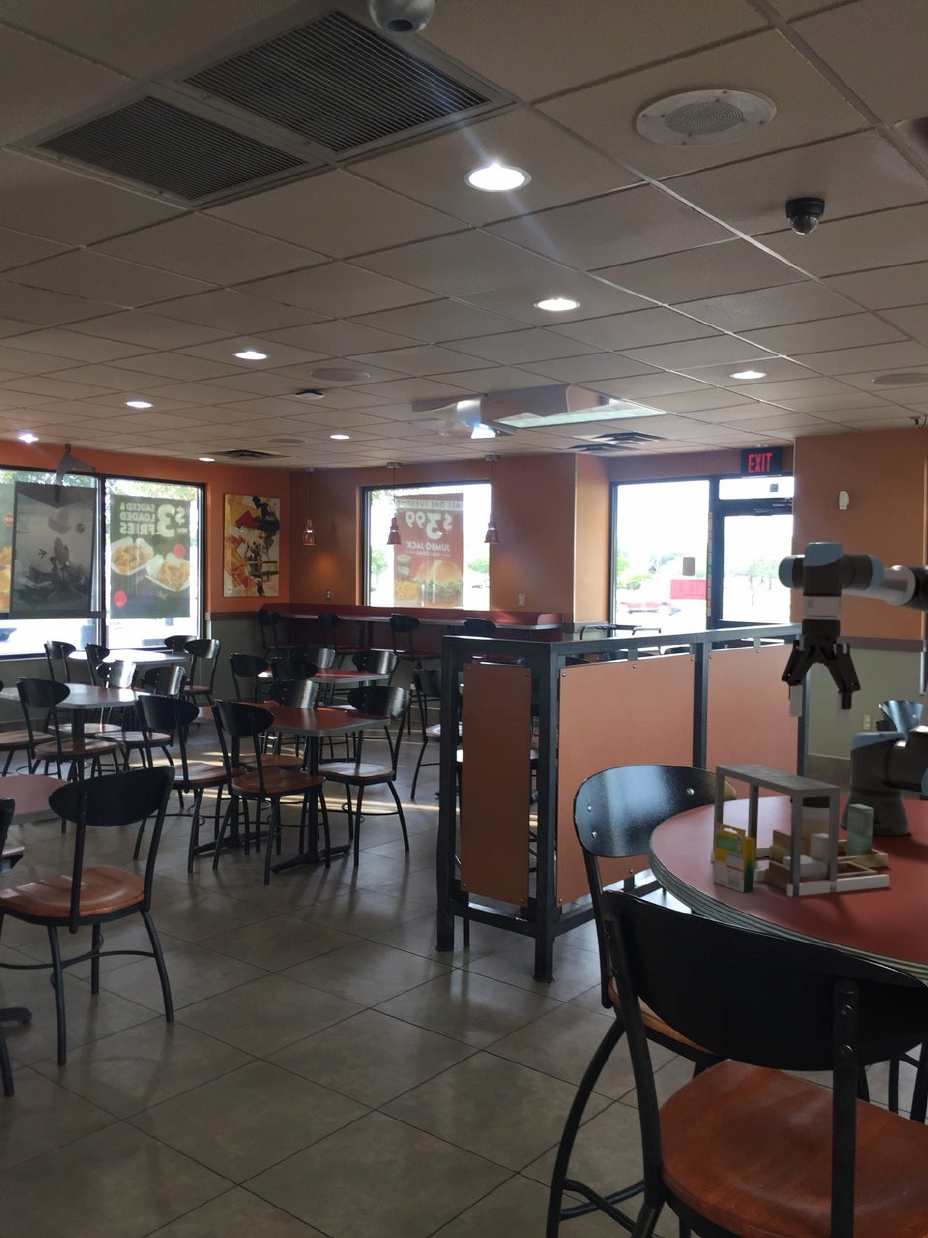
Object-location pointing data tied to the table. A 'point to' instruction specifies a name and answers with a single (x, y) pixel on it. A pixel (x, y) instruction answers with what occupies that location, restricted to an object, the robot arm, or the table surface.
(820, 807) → the coffee cup
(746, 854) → the crayon box
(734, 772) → the shelf
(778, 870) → the sled
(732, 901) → the table surface
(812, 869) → the grey block
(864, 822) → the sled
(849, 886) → the lane rails
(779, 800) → the table surface
